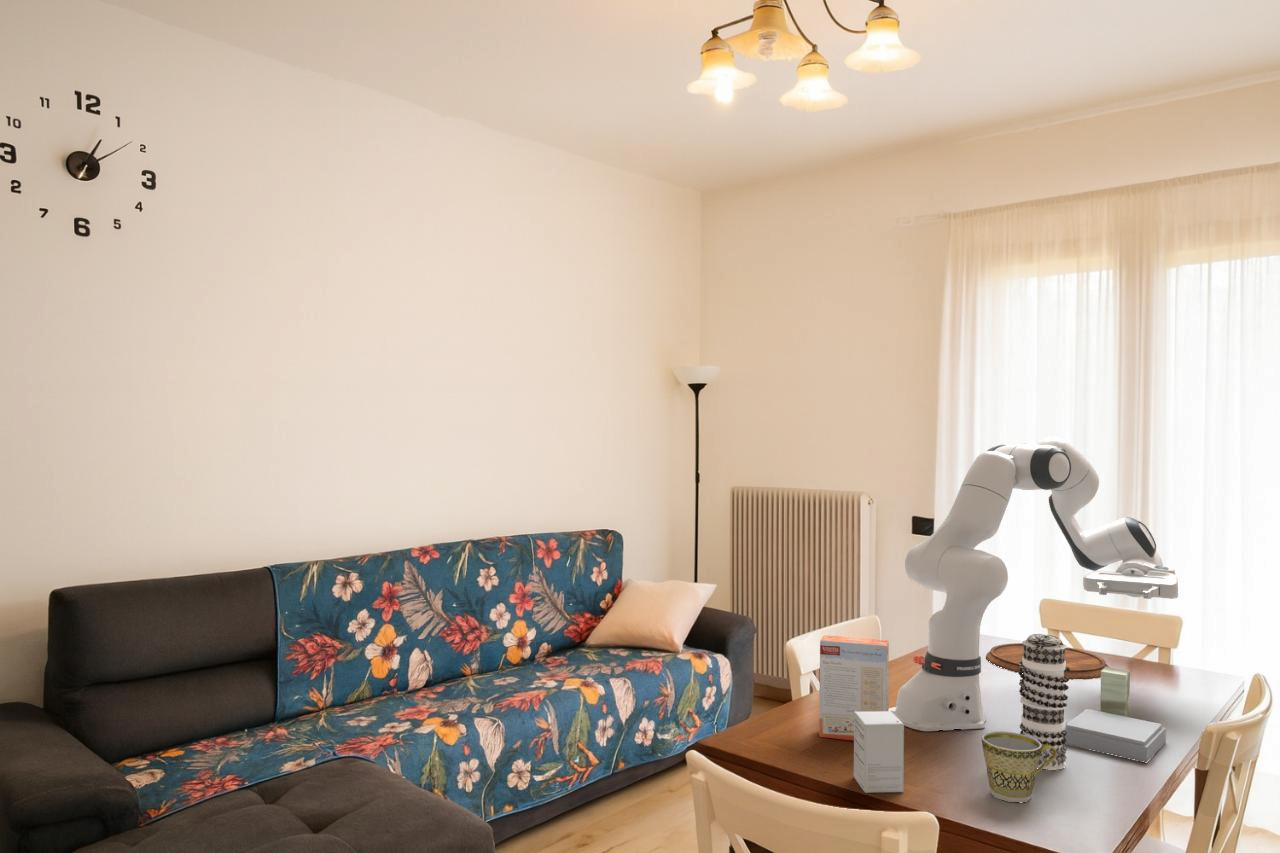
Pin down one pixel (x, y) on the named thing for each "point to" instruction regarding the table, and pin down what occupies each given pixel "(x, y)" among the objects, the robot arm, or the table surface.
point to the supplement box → (878, 751)
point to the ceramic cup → (1012, 764)
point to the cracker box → (851, 682)
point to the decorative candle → (1044, 695)
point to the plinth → (1115, 734)
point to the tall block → (1115, 691)
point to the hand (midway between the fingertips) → (1124, 593)
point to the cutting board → (1076, 660)
